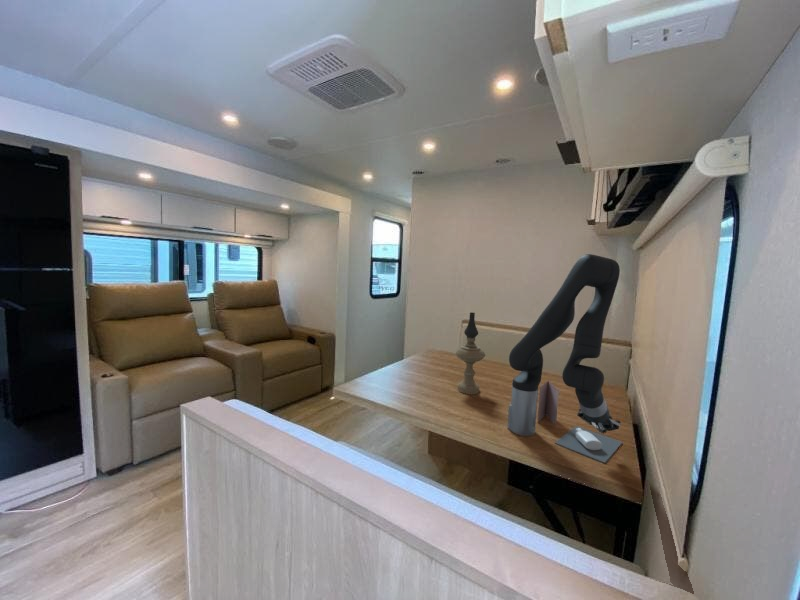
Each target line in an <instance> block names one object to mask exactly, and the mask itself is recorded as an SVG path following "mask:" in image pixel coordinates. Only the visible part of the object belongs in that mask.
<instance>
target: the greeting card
mask: <svg viewBox="0 0 800 600" xmlns="http://www.w3.org/2000/svg"><path fill="white" fill-rule="evenodd" d="M559 392H560V391H559V389H558V388H557V387H556V386H555V385H553V384H552V382H550V380H547V381H546V382H545V383H544V384H542V385H541V386H540V387H539V394H538V407H537V408H538V409H537V424H538V423H539V422H540V421H541V420H542V419H543V418H544V417H545V415H546V417H547V418H548V419H549V420H550V421H551V423H553V425H554V426H555V427H557V421H558V420H557V418H558V409H559V408H558V405H559V395H560V394H559Z"/></svg>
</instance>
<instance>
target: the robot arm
mask: <svg viewBox="0 0 800 600" xmlns="http://www.w3.org/2000/svg"><path fill="white" fill-rule="evenodd" d="M620 269H621V267H620V265H619V262H617V261H616V260H614V259H612V258H609V257H605V256H600V255H596V254H592V253H587V254H584V255H582V256H580V257H579V258H578V259H577V260H576V262H575V263H574V265H572V268H571V269H570V271H569V272H568V274H567V276H566V278H565V280H564V281H563V283H562V284H561V286H560V288H559V289H558V291H557V292H556V294H555V295H554V297H553V298H552V300H551V301H550V302H549V303H548V305H547V306H546V307H545V309H544V310H543V311H542V312H541V314H540V315H539V316H538V318H537V320H536V321H535V323H534V324H532V326H531V327H530V329H529V330H528V332H526V334H525V335H524V336H523V337H522V338H521V340H519V341H518V343H516V345H514V347H512V349H511V351H510V353H509V356H508V362H509V365H510V367H511V368H512V369H513V370H514V371H519V372H520V373H519V374H518V375H515V377H513V379H512V386H511V400H510V402H511V403H509V404H508V414H507V429H509V430H510V431H511V433H514V434H516V435H519V436H524V437H530V436H534V435H535V433H536V421H537V411H538V409H537V408H538V407H537V406H538V396H539V394H538V392H539V385H540V384H541V382H542V374H543V369H544V368H543V367H544V356H543V352H542V350H541V349H542V348H544V347H546V346H547V345H549V344H550V343H552V342H553V341H555V340H557V339H558V338H559V337H561V336H562V335H563V334H564V333H565V332H566V330H567V329H569V328H570V326H571V325H572V323H573V322H574V319H575V315H576V314H575V313H576V312H575V303H576V299H577V297H578V296H579V294H580V292H581V291H582V290H583V289H584V288H585V287H590V288H594V296H593V300H592V302H591V304H590V305H589V307H588V309H587V310H586V311H585V312H584V314H583V315H582V316H581V318H580V319H579V320H578V323H577V325H576V327H575V333H574V339H573V345H572V346H573V347H572V351H571V352H570V355H569V358H568V359H567V362H566V364H565V366H564V368H563V370H562V376H561V377H562V381H563V382H564V384H565V386H568V387H570V388H573V389H574V391H575V395H576V396H575V397H577V400H578V404H579V407H580V408H579V409H578V411H577V417H579V418H580V419H581V420H582V421H584V422H585V423H586V424H588V425H590V426H594V428H596V430H597V431H598V432H599V434H602V435H605V434H606V433H607V432H611V431H615V430H619V429H620V424H621V421H620V420H618V419H616V420H615V419H613V417H612V416H611V415H610V410H609V407H608V404H607V401H606V399H605V397H604V394H603V391H602V389H603V386H604V382H605V375H604V373H603V372H602V370H601V369H599V368H597V367H595V366H589V365H585V364H584V365H583V364H581V362H582V361H583V360H585V359H598V358H599V357H600V355H601V350H602V343H603V342H602V341H603V337H604V336H603V335H604V330H605V329H604V328H605V324H606V320H607V316H608V313H609V312H610V311H609V310H610V307H611V305H612V301H613V299H614V294H615V292H616V289H617V286H618V282H619V278H620V272H621V270H620Z"/></svg>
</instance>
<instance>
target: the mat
mask: <svg viewBox="0 0 800 600" xmlns="http://www.w3.org/2000/svg"><path fill="white" fill-rule="evenodd" d="M576 428H581V429H582V430H583V431H587V432H589V433H591V434H592V435H593V436H594V437H596V438H597V439H598V440H599V441H600V442H601V443H602V448H601V449H599V450H590V449H587V448H586V447H585V446H584V445H583V444H582V443H581V442H580V441H579V440H578V439H577V438H576ZM554 444H556V445H557V446H559V447H563V448H565V449H568V450H570V451H572V452H575V453H577V454H580V455H582V456H585V457H587V458H590V459H593V460H595V461H597V462H599V463H602V464H606V463H607V462H608V461H609V460H610V459H611V457H612V456H613V455H614V454H615V452H616V451H618V449H619V448H620V447H621V445H622V444H623V441H621V440H618V439H615V438H612V437H610V436H606V435H605V434H602V433H598V432H595V431H591V430H589V429H586V428H583V427H580V426H578V425H575V426H573V428H571V429H570V430H569V431H567V432H566V433H565V434H564V435H563V436H561V437H560V438H558V440H555V442H554ZM619 446H620V447H619ZM618 447H619V448H618Z"/></svg>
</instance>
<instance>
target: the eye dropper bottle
mask: <svg viewBox="0 0 800 600" xmlns="http://www.w3.org/2000/svg"><path fill="white" fill-rule="evenodd" d="M581 428H582V427H581ZM581 428H576V438H577V439H578V440H579V441H580V442H581V443H582V444H583V445H584V446H585V447H586V448H587V449H590V450H599V449H601V448H602V443H601V442H600V441H599V440H598V439H597V438H596V437H594V436H593V435H592V434H591V433H589V432H587V431H583V430H582V429H581Z"/></svg>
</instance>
